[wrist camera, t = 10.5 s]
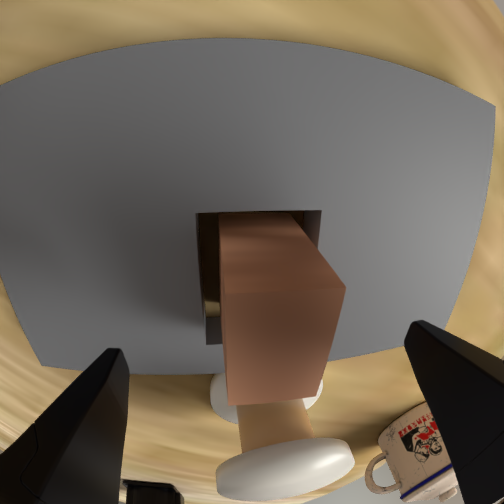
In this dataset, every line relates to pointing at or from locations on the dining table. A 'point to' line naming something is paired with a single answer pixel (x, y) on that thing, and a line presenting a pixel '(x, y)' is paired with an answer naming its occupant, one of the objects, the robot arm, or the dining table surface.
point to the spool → (276, 449)
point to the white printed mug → (415, 458)
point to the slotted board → (230, 191)
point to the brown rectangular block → (274, 308)
